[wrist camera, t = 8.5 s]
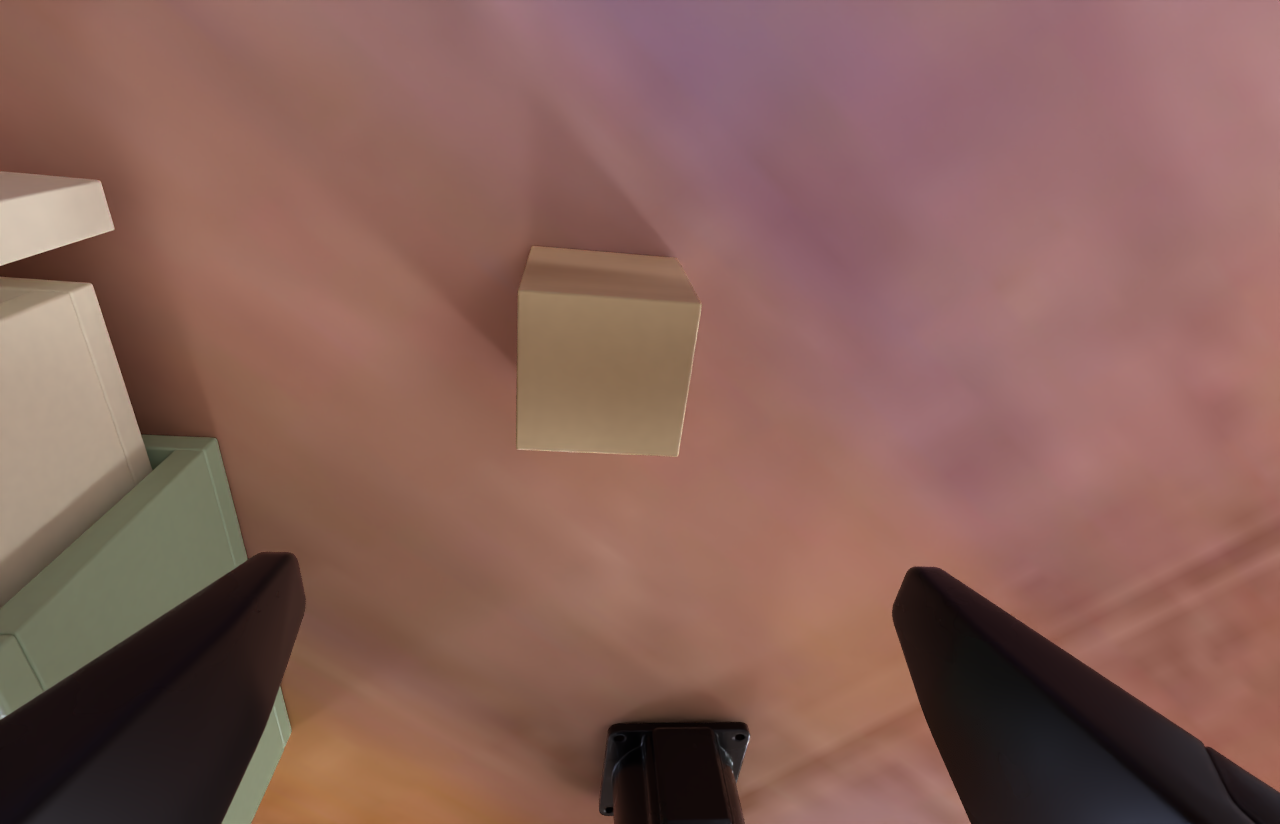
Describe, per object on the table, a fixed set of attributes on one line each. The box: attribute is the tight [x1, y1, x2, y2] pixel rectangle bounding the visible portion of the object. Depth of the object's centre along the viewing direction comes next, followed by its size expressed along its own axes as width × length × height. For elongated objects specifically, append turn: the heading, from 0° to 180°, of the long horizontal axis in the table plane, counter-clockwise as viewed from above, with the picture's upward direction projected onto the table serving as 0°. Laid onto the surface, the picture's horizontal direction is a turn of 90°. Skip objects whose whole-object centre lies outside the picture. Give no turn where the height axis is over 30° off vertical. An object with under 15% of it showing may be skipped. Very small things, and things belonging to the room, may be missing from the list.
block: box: [516, 246, 702, 457], centre depth 17 cm, size 4×4×4 cm
